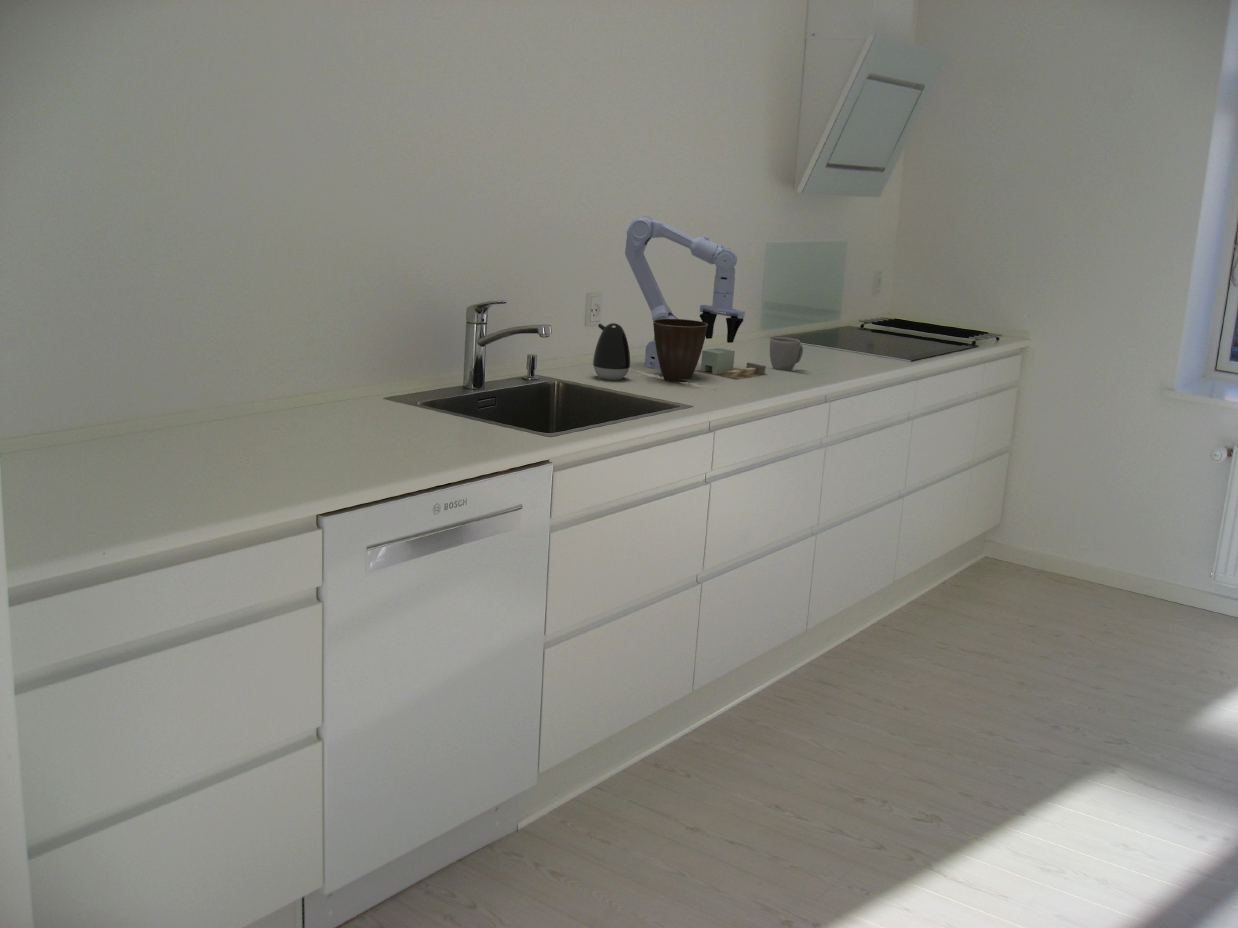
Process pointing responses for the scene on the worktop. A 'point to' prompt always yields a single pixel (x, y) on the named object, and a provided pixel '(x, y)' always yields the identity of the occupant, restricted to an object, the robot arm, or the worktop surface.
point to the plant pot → (678, 346)
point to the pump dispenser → (611, 353)
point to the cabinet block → (717, 360)
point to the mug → (785, 353)
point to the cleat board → (742, 372)
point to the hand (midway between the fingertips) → (719, 340)
